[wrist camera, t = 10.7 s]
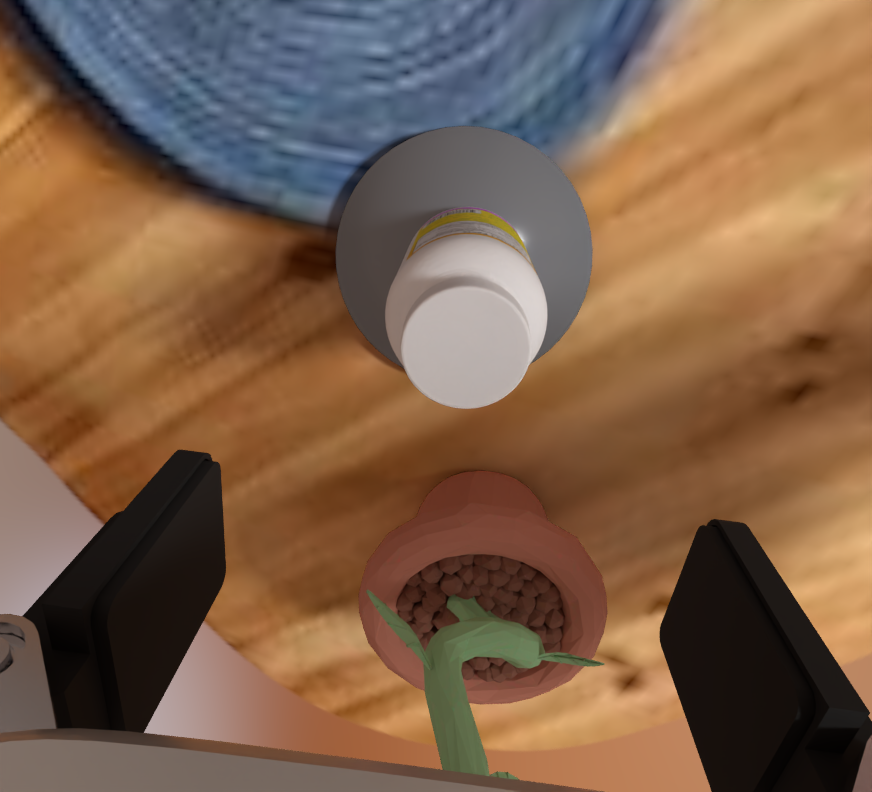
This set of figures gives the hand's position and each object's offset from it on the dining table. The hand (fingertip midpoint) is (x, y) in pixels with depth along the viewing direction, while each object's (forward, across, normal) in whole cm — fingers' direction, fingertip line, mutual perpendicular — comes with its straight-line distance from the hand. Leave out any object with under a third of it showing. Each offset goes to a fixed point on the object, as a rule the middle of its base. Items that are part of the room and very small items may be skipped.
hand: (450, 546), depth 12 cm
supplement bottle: (+23, 0, 0) cm, 23 cm away
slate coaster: (+24, 0, 0) cm, 24 cm away
